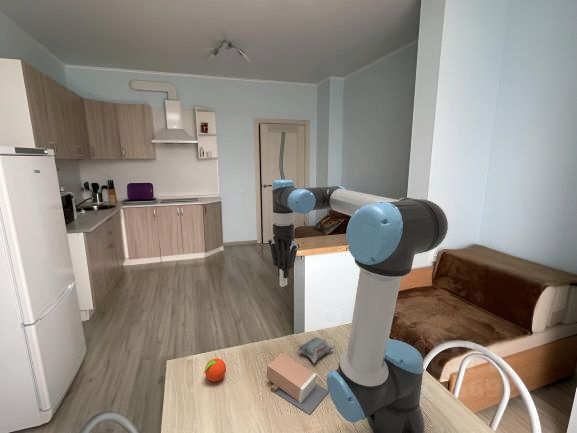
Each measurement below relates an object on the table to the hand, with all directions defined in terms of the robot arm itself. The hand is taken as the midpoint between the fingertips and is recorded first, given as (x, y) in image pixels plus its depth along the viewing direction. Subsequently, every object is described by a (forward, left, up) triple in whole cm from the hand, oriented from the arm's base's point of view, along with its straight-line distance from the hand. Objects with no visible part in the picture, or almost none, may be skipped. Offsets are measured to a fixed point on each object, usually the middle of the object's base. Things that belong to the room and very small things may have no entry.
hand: (283, 285), depth 110 cm
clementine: (+8, +27, -27) cm, 39 cm away
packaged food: (-12, -5, -27) cm, 30 cm away
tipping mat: (-18, +14, -26) cm, 35 cm away
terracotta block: (-7, +14, -22) cm, 27 cm away
